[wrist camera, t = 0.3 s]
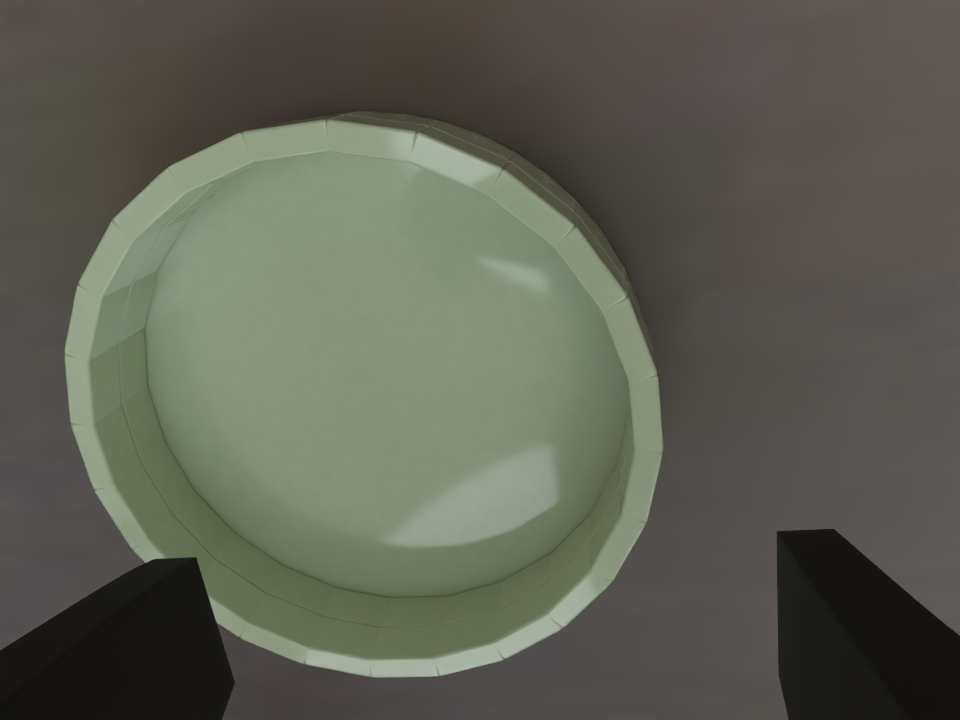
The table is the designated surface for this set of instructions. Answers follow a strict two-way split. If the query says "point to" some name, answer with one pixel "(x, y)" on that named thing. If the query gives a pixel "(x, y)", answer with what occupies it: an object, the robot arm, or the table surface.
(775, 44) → the table surface
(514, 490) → the bowl
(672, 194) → the table surface
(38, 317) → the table surface
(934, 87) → the table surface
